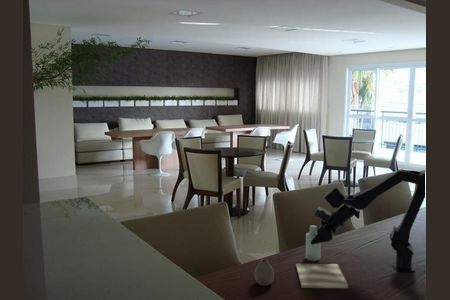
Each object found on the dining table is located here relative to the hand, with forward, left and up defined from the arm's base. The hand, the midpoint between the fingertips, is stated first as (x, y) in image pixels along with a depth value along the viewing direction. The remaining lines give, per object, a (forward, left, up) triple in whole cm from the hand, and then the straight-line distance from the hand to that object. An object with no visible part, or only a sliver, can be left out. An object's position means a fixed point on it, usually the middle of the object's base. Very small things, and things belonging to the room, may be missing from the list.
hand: (312, 239), depth 166 cm
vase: (-24, +21, -8) cm, 33 cm away
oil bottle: (0, 0, -8) cm, 8 cm away
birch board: (-18, 0, -8) cm, 20 cm away
